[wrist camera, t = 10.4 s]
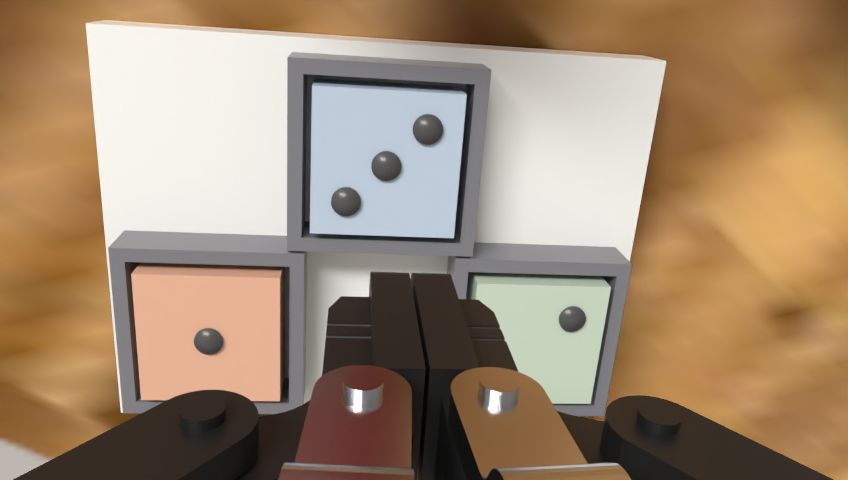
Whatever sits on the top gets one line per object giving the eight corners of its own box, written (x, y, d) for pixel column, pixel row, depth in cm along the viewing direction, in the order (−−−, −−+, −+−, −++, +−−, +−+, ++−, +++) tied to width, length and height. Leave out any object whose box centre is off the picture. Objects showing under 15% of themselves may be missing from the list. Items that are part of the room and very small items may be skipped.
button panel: (644, 55, 27) (688, 66, 24) (587, 390, 32) (615, 441, 29) (105, 20, 25) (64, 26, 21) (135, 385, 30) (106, 440, 26)
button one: (284, 259, 26) (279, 279, 24) (284, 376, 28) (279, 403, 26) (145, 255, 26) (129, 275, 24) (154, 374, 27) (139, 402, 25)
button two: (595, 268, 27) (612, 288, 26) (577, 379, 29) (591, 405, 27) (469, 264, 27) (478, 285, 25) (458, 377, 29) (465, 404, 27)
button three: (459, 86, 24) (467, 95, 23) (447, 222, 26) (454, 239, 24) (315, 78, 24) (311, 86, 22) (312, 216, 26) (309, 234, 24)
